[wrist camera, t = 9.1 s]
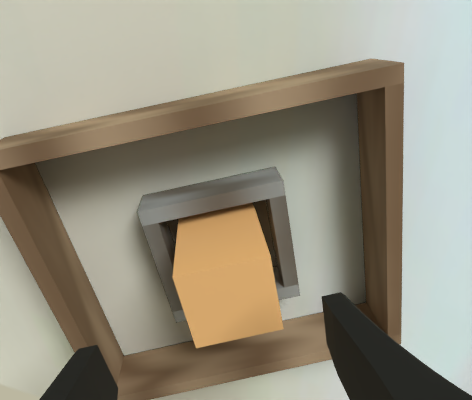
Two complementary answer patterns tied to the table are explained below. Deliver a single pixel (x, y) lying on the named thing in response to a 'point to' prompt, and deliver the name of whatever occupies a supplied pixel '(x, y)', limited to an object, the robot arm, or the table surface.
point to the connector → (225, 276)
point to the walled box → (210, 199)
